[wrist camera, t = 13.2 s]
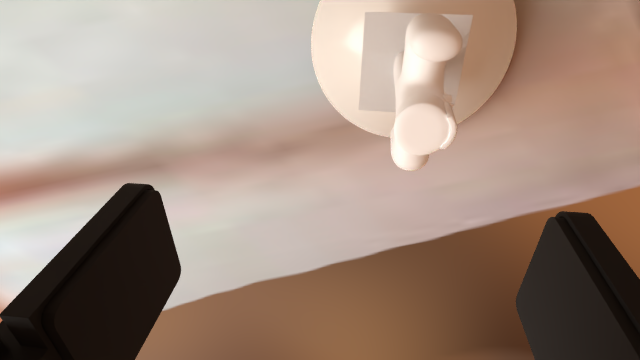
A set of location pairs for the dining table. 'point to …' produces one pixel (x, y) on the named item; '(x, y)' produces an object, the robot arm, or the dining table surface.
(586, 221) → the robot arm
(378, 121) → the plate
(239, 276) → the dining table surface
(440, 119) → the figurine
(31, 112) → the dining table surface
